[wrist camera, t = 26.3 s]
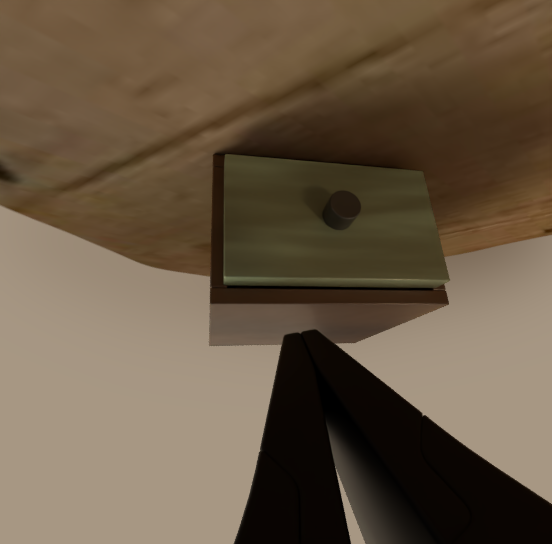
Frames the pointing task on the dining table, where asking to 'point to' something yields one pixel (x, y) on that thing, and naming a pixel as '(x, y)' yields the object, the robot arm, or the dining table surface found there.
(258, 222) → the drawer
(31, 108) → the dining table surface
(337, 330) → the cabinet
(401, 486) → the robot arm
